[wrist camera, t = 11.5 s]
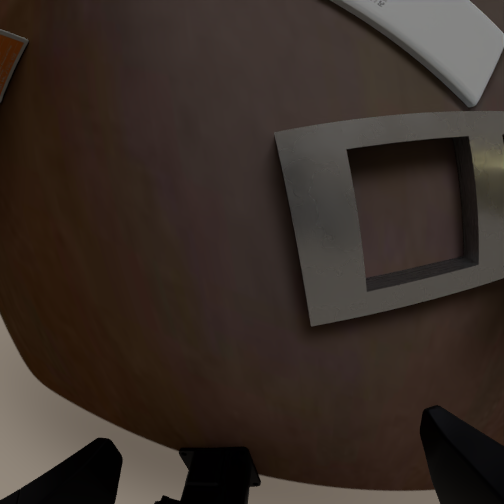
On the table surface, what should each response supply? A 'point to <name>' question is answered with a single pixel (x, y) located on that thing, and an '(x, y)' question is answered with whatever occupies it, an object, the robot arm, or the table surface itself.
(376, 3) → the external hard drive
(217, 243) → the table surface
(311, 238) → the grey flat frame
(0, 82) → the skincare box
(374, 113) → the table surface
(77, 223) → the table surface
